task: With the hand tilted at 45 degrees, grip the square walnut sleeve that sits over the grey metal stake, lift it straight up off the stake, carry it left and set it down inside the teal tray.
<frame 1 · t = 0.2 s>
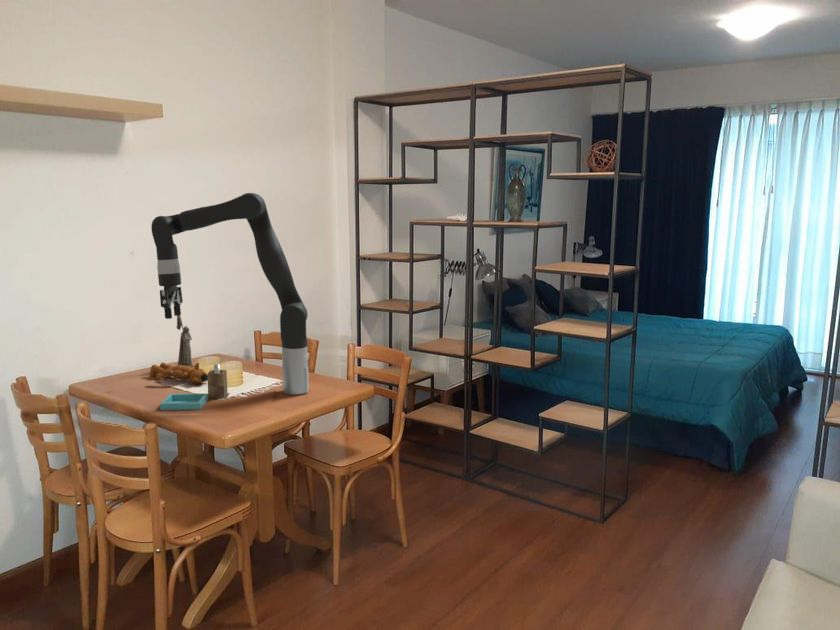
hand: (173, 317, 236), 28 cm above the table, tool pointing down, fingers open, 8 cm apart
toy: (181, 382, 257), on the table
wizard figurine: (184, 369, 275), on the table
stake: (218, 397, 235), on the table
tray: (185, 405, 225), on the table
sleeve: (218, 395, 235), resting on stake
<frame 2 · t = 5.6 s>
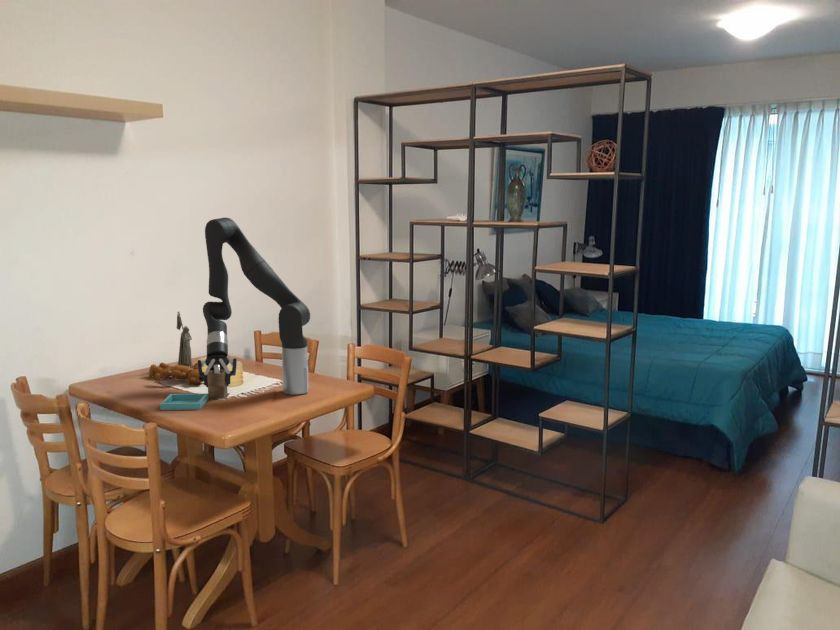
hand: (217, 385, 233), 5 cm above the table, tool tilted 45°, fingers closed on sleeve, 6 cm apart
sleeve: (218, 395, 235), point 1 cm above the table, touching gripper, stake
everything else where it was.
when the fingers open (6 cm above the table, at t = 11.7 s): sleeve drops 1 cm, resting on tray.
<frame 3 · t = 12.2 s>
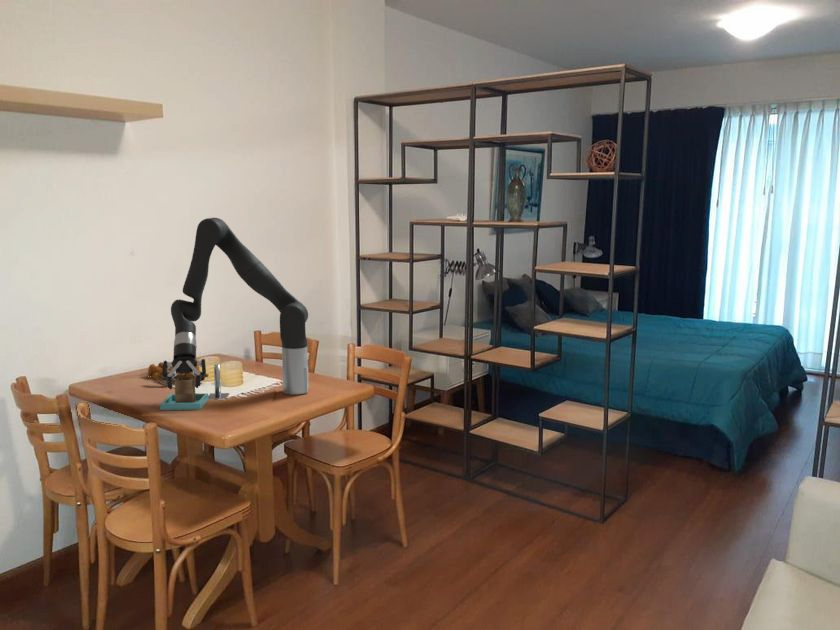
hand: (183, 387, 222), 7 cm above the table, tool tilted 45°, fingers open, 8 cm apart
sleeve: (185, 404, 225), point 1 cm above the table, touching tray
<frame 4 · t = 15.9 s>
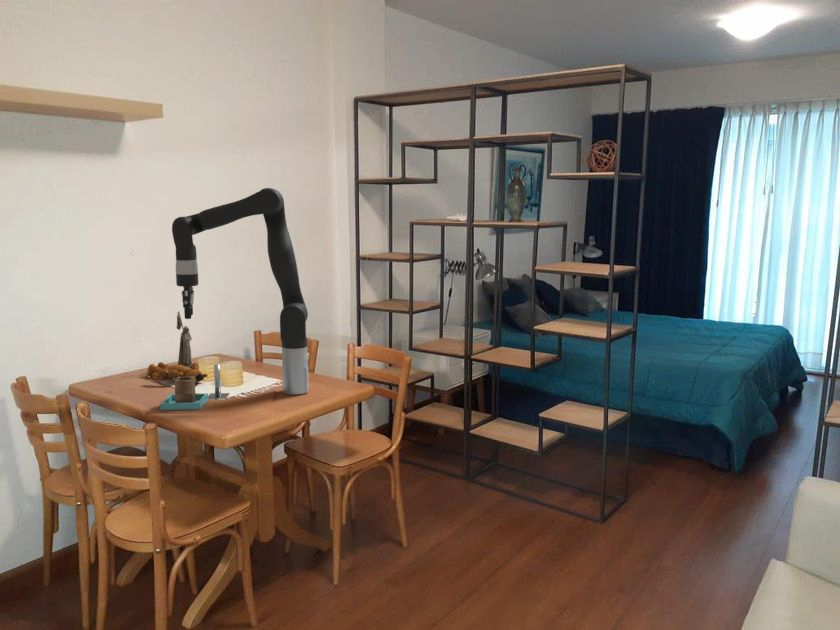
hand: (189, 316, 238), 28 cm above the table, tool pointing down, fingers open, 8 cm apart
at the end: sleeve inside the target area on the tray (0.2 cm from its centre), point 0.6 cm above the tray's base; sleeve moved 13.2 cm from its start; the gripper is holding nothing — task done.
